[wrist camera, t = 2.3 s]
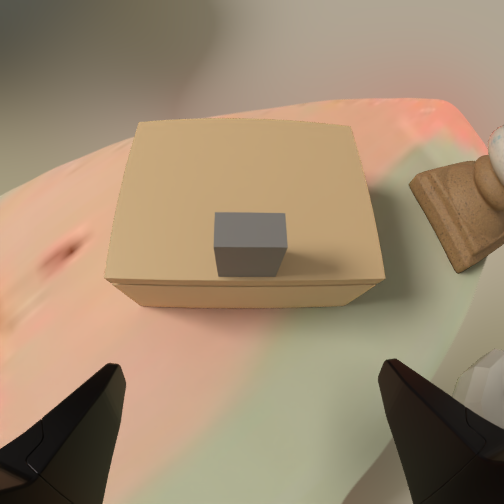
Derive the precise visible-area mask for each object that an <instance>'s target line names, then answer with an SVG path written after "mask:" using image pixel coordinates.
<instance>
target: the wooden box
mask: <svg viewBox="0 0 504 504" xmlns="http://www.w3.org/2000/svg"><path fill="white" fill-rule="evenodd" d="M112 285H114V286H115V287H116V288H117V289H119V290H120V291H121V292H123V293H124V294H125V295H127V296H128V297H129V298H131V299H132V300H133V301H135V302H136V303H137V304H139V305H140V306H153V307H183V308H299V307H329V306H345V305H346V304H348V303H350V302H351V301H353V300H354V299H356V298H357V297H359V296H360V295H362V294H363V293H365V292H366V291H368V290H369V289H371V288H372V287H374V286H375V285H376V284H344V285H292V286H206V285H153V284H121V283H113V284H112Z"/></svg>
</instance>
